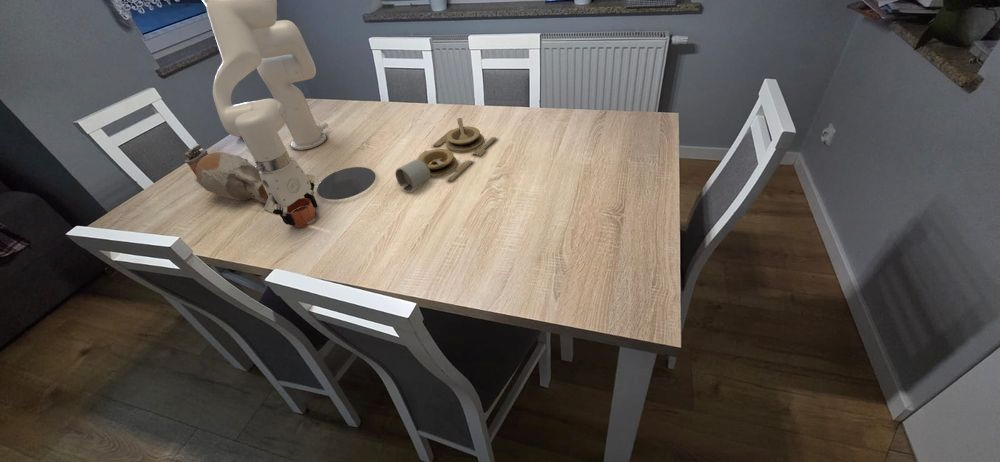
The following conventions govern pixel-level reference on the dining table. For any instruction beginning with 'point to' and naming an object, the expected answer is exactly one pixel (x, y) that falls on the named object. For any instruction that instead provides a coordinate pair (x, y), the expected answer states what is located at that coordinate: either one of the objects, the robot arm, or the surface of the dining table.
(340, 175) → the plate
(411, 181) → the ceramic mug
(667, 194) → the dining table surface
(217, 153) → the amphora
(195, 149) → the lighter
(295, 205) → the cup
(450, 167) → the tableware set
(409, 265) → the dining table surface
